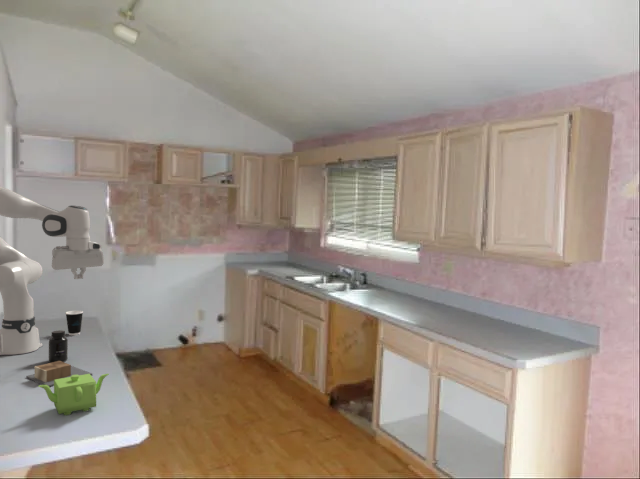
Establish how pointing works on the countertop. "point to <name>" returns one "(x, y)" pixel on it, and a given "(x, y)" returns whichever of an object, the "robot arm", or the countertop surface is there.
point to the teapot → (74, 393)
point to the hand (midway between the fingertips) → (78, 278)
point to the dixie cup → (74, 322)
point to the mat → (51, 383)
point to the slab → (52, 371)
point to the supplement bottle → (58, 347)
